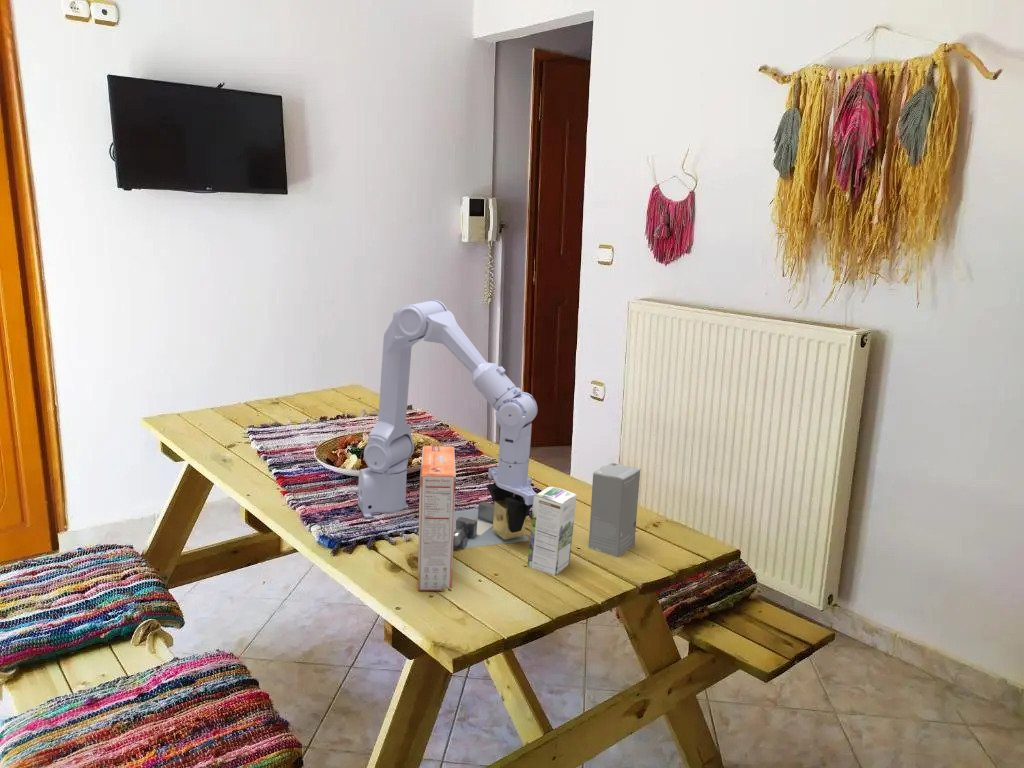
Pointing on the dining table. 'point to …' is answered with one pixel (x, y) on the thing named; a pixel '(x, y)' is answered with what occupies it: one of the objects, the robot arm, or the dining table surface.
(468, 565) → the dining table surface
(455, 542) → the shaft
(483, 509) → the shaft
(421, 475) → the cracker box
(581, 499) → the dining table surface
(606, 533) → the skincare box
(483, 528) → the board
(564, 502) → the syrup box
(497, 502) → the tan block
